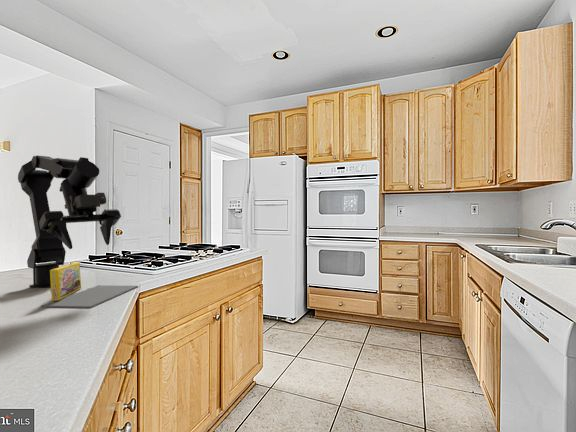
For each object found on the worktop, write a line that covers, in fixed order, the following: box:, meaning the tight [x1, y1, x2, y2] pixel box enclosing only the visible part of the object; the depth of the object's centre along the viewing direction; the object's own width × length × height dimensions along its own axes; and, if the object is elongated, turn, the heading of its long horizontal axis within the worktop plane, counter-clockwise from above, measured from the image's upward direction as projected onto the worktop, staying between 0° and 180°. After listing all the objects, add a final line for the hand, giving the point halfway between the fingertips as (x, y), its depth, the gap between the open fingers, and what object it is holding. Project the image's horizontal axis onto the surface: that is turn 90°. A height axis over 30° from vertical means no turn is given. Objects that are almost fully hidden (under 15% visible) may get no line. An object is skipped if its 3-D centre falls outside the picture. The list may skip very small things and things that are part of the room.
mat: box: [40, 284, 139, 309], centre depth 92 cm, size 13×22×1 cm, turn 176°
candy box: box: [50, 261, 82, 302], centre depth 93 cm, size 16×2×8 cm, turn 15°
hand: (90, 246), depth 89 cm, fingers open, 9 cm apart
